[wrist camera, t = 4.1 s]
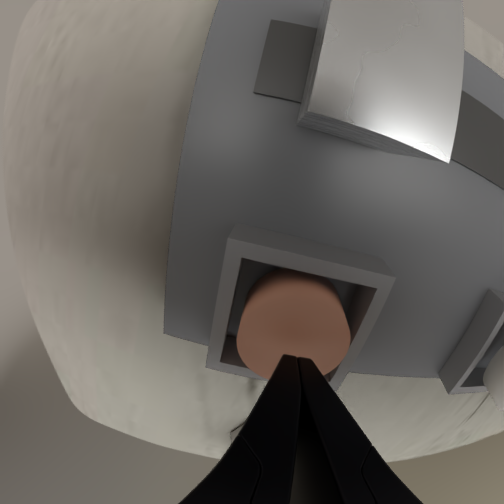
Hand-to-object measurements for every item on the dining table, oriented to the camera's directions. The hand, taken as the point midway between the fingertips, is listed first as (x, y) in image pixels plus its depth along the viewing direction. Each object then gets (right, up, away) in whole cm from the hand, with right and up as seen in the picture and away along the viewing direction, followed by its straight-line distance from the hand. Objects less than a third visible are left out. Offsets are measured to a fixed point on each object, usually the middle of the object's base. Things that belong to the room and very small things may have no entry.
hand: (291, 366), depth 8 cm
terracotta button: (0, +1, +3) cm, 3 cm away
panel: (+7, +5, +3) cm, 9 cm away
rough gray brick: (+2, +9, -1) cm, 9 cm away
